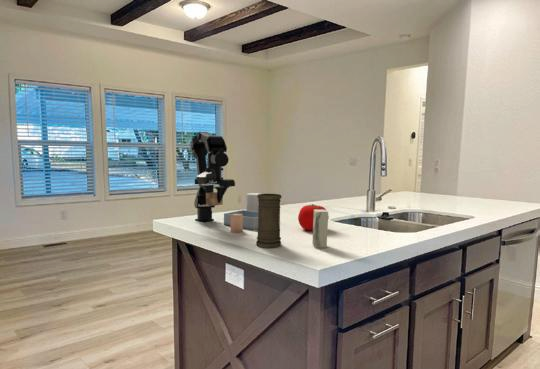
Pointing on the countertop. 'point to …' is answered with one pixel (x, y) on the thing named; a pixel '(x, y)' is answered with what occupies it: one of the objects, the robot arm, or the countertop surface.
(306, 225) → the tomato
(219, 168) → the robot arm
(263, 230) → the container
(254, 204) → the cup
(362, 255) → the countertop surface
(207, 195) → the cube
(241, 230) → the cylinder
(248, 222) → the box
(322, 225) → the box
